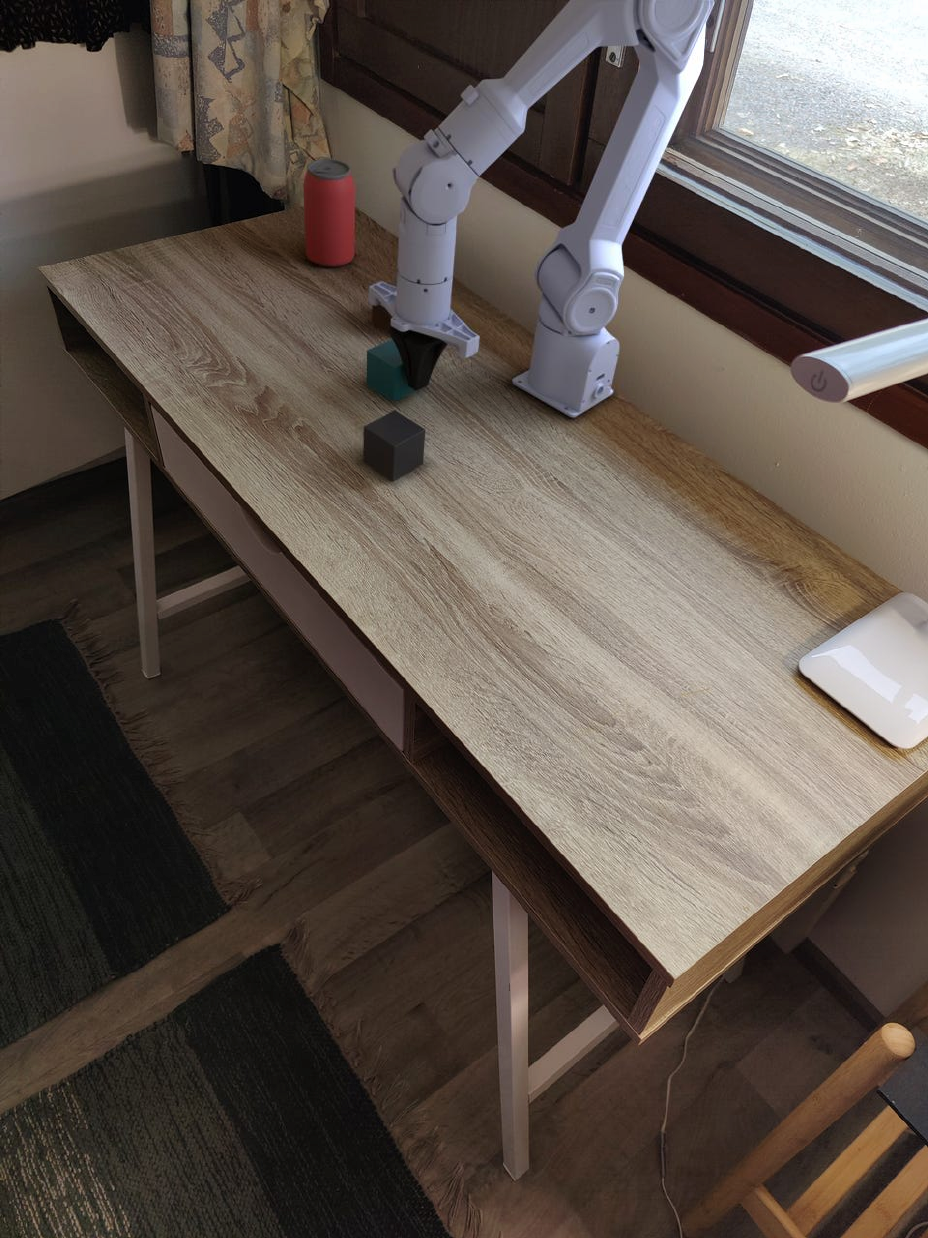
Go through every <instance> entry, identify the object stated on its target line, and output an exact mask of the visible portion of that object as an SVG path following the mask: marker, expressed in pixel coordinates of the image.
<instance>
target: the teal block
mask: <svg viewBox="0 0 928 1238" xmlns="http://www.w3.org/2000/svg"><path fill="white" fill-rule="evenodd" d="M365 373H366V375H365V376H366V377H365V378H366V379H365V385H366V386H367V387H368V388H370V389H372V390H373V391H375V392H377V393H378V394H379V395H381V396H383V397H384V398H386V399H388V400H389V401H391V402H393V403H395V402H397V401H399V400H400V399H403V398H405V397H406V396H408V395H410V394H412V393H414V392H417V391H416V390H414V389H412V388H411V387H409V386H408V383H407V378H406V374H405V370H404V366H403V362H402V359H401V356H400V353H399V351H398V349H397V347H396V345H395V343H394V341H393V339H392V338H391V339H388V340H387V341H384V342H382V343H381V344H378V345H376V346H374V347H371V348H370V349H368V350H366V372H365Z"/></svg>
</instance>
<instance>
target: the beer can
mask: <svg viewBox="0 0 928 1238" xmlns="http://www.w3.org/2000/svg"><path fill="white" fill-rule="evenodd" d="M351 172H352V169H351V166H350V165H348V163H346V162H344V161H342V160H339V159H334V158H333V159H332V158H321V159H315V160H312V161H311V162H309V163H308V164H307V166H306V173H305V175H304V178H303V184H302V185H303V205H304V206H303V210H304V211H303V212H304V213H303V214H304V215H303V216H304V244H305V256H306V258H307V259H308V260H309V261H310V262H312V263H313V264H315V265H318V266H319V267H323V268H325V267H327V268H338V267H343V266H345V265H348V264H349V263H351V262H352V261H353V259H354V257H355V244H356V243H355V238H356V236H355V235H356V232H355V231H356V229H355V228H356V227H355V226H356V225H355V223H356V221H355V220H356V217H355V216H356V187H355V181H354V178H353V175H352V173H351Z"/></svg>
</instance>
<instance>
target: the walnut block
mask: <svg viewBox="0 0 928 1238" xmlns="http://www.w3.org/2000/svg"><path fill="white" fill-rule="evenodd" d="M386 283H387V284H389V285H391V286H394V287H397V278H396V279H393V280H391V281H388V282H386ZM391 318H393V317H392V316H391V314H390V313H389V312H388V311H387V310H386V308H385V307H383V306H381V305H380V304H379V305H377V306H374V305H372V304H371V323H372V324H373V325H375V326H377V327H378V328H380V329H382V330H383V331H385V332H387V333H389V332H390V328H391V327H392V326H391Z"/></svg>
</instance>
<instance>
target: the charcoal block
mask: <svg viewBox="0 0 928 1238" xmlns="http://www.w3.org/2000/svg"><path fill="white" fill-rule="evenodd" d="M425 442H426V428H424V427H422V426H421V425H420V424H418V423H417V422H415V421H413V420H411V419H410V418H409V417H407V416H405V415H404V414H402V413H400V412H399V411H397V410H396V409H395V410H392V411H390V412H388V413H387V414H384V415H383V416H381V417H379V418H377V419H374V420H373V421H371V422H369V423H367V424H366V425H363V445H362V446H363V447H362V450H363V451H362V453H363V454H362V461H363V463H365V464H366V465H368V466H369V467H370V468H372V469H373V470H374V471H376V472H378V473H379V474H381V475H382V476H383V477H385V478H386V479H388V480H389V481H391V482H393V483H394V482H395V481H397V480H399V479H400V478H402V477H404V476H405V475H407V474H409V473H410V472H412V471H414V470H416V469H417V468H419V467H421V466H423V465H424V456H425V444H426V443H425Z"/></svg>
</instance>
